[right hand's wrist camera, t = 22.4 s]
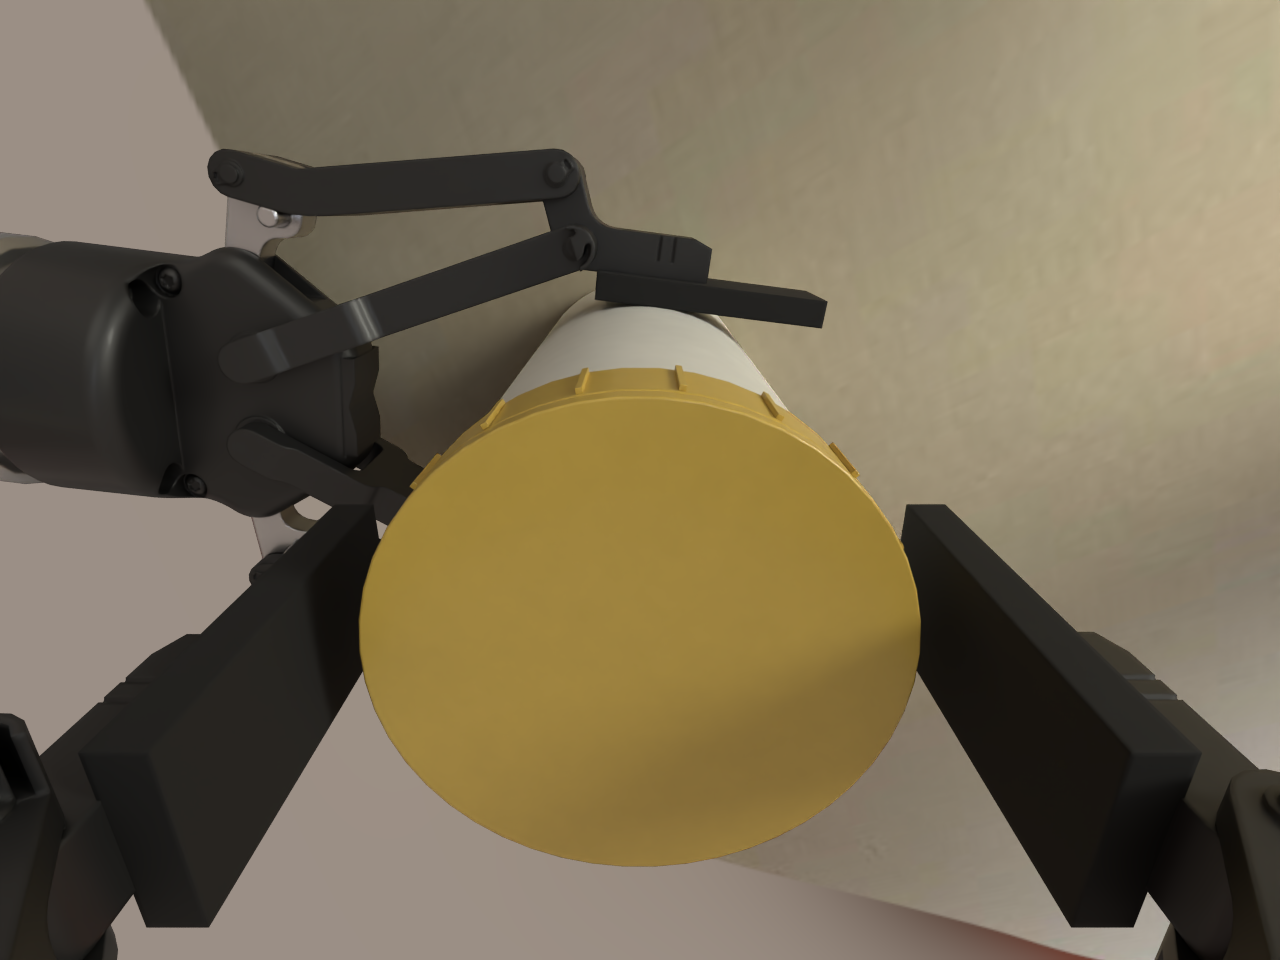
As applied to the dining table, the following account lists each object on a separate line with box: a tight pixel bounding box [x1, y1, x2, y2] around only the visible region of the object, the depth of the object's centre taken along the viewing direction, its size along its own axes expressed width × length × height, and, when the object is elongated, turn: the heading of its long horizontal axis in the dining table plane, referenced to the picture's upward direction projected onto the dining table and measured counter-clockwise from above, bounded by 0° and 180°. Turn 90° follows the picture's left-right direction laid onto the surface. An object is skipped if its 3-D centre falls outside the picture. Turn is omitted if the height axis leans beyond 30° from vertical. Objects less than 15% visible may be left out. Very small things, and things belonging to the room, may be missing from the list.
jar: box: [500, 290, 788, 411], centre depth 20 cm, size 8×8×18 cm
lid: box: [359, 365, 921, 866], centre depth 11 cm, size 9×9×2 cm
